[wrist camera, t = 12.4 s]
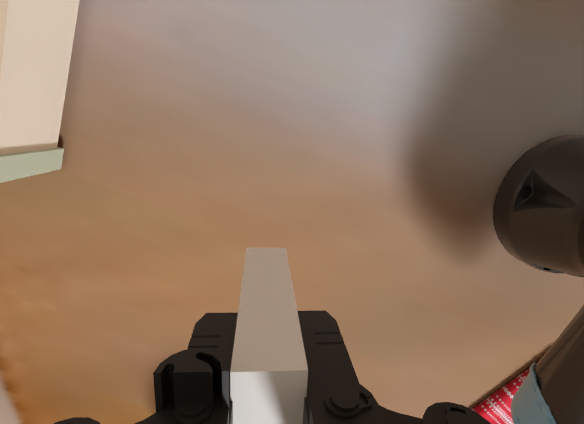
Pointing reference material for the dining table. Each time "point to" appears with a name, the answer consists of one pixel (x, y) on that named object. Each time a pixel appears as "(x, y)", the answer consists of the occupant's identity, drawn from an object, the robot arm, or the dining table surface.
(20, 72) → the gate
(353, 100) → the dining table surface
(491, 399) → the dish towel
